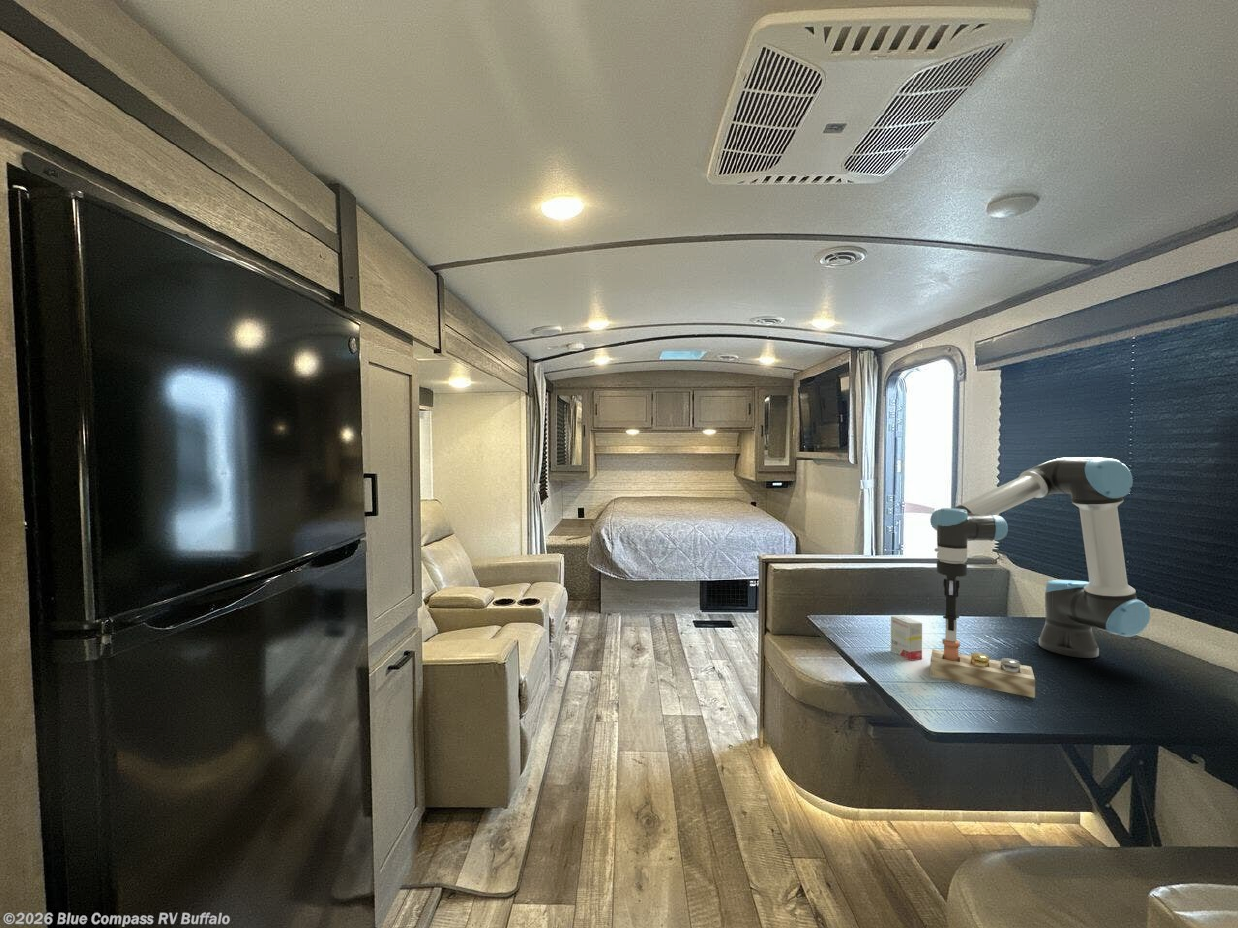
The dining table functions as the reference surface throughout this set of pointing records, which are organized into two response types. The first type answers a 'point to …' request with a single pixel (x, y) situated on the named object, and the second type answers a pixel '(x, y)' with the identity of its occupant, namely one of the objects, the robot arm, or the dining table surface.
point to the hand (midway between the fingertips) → (950, 640)
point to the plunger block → (983, 674)
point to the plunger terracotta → (951, 650)
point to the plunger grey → (1010, 665)
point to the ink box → (906, 637)
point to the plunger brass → (980, 659)
